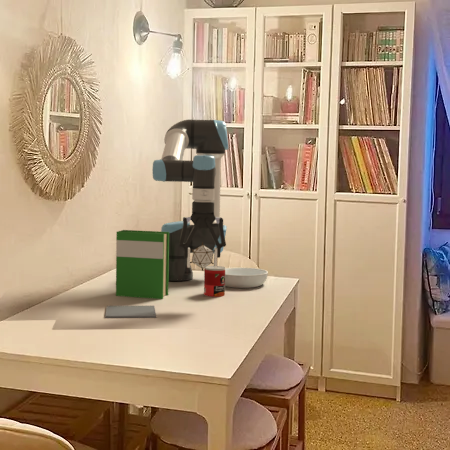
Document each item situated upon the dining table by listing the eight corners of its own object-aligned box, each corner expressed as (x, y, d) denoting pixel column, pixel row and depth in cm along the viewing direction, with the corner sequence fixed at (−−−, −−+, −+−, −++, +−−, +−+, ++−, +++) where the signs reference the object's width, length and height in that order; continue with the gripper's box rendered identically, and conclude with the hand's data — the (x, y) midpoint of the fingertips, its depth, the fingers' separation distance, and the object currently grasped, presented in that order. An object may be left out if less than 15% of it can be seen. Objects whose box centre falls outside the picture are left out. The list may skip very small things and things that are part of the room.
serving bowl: (236, 281, 299) (237, 265, 298) (277, 288, 286) (278, 271, 285) (204, 287, 283) (204, 270, 282) (246, 294, 270) (246, 277, 269)
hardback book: (168, 296, 263) (169, 231, 261) (162, 300, 256) (163, 233, 253) (122, 293, 266) (123, 229, 264) (115, 297, 259) (116, 231, 257)
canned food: (216, 299, 259) (217, 269, 258) (199, 296, 264) (200, 267, 263) (229, 296, 265) (229, 267, 264) (212, 293, 270) (212, 265, 269)
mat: (106, 307, 241) (106, 305, 241) (154, 307, 243) (154, 305, 243) (105, 317, 225) (105, 316, 225) (156, 317, 227) (156, 315, 227)
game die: (211, 273, 238) (212, 244, 237) (187, 272, 240) (187, 243, 239) (217, 269, 247) (217, 240, 246) (193, 268, 249) (193, 240, 247)
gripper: (172, 201, 236) (171, 268, 238) (236, 202, 239) (234, 268, 241) (171, 199, 243) (170, 265, 245) (232, 200, 246) (231, 265, 248)
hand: (201, 266), depth 243 cm, fingers closed on game die, 9 cm apart
